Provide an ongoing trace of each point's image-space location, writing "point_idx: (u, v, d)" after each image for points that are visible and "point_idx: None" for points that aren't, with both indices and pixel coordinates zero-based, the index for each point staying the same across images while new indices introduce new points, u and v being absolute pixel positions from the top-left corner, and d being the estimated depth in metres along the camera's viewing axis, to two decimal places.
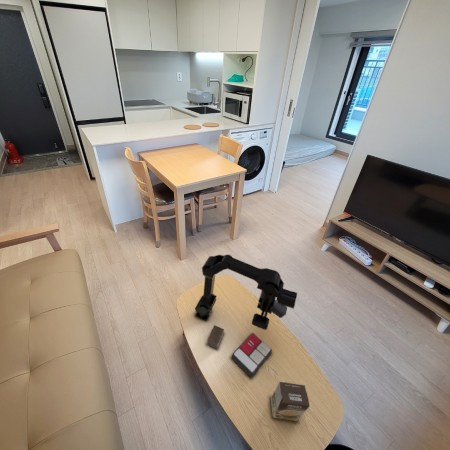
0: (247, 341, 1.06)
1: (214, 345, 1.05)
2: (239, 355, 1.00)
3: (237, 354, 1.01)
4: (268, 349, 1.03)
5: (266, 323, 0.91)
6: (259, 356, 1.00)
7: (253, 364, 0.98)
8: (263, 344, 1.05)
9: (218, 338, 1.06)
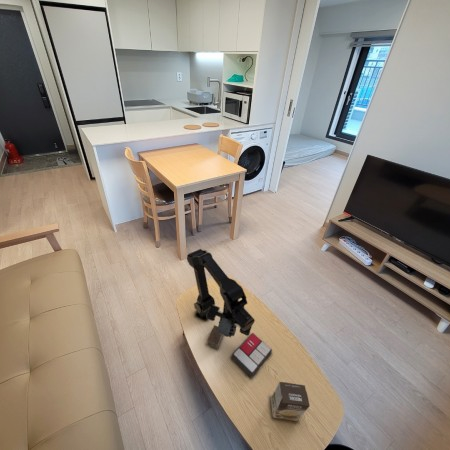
0: (247, 341, 1.06)
1: (214, 345, 1.05)
2: (239, 355, 1.00)
3: (237, 354, 1.01)
4: (268, 349, 1.03)
5: (209, 314, 0.96)
6: (259, 356, 1.00)
7: (253, 364, 0.98)
8: (263, 344, 1.05)
9: (218, 338, 1.06)
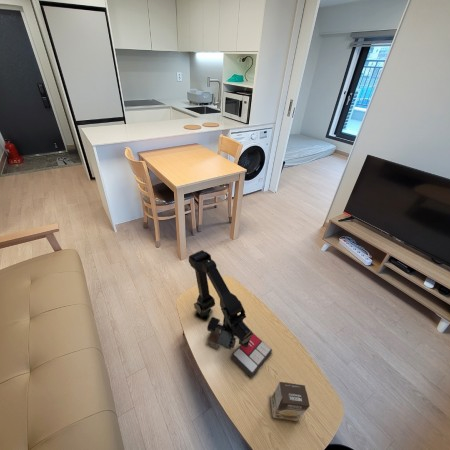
0: None
1: (214, 345, 1.05)
2: (239, 355, 1.00)
3: (237, 354, 1.01)
4: (268, 349, 1.03)
5: (210, 326, 1.01)
6: (259, 356, 1.00)
7: (253, 364, 0.98)
8: (263, 344, 1.05)
9: None
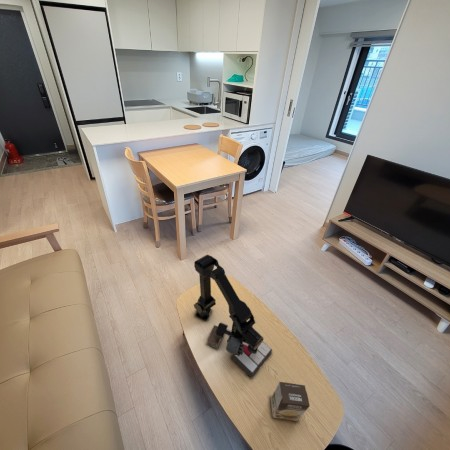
0: None
1: (214, 345, 1.05)
2: None
3: None
4: (268, 349, 1.03)
5: (218, 332, 1.01)
6: (259, 356, 1.00)
7: (253, 364, 0.98)
8: (263, 344, 1.05)
9: (218, 338, 1.06)
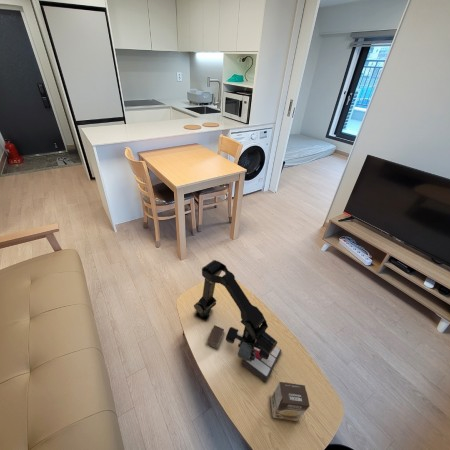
0: None
1: (214, 345, 1.05)
2: None
3: None
4: (278, 350, 1.03)
5: (229, 337, 0.99)
6: (270, 358, 1.00)
7: (266, 368, 0.97)
8: None
9: (218, 338, 1.06)
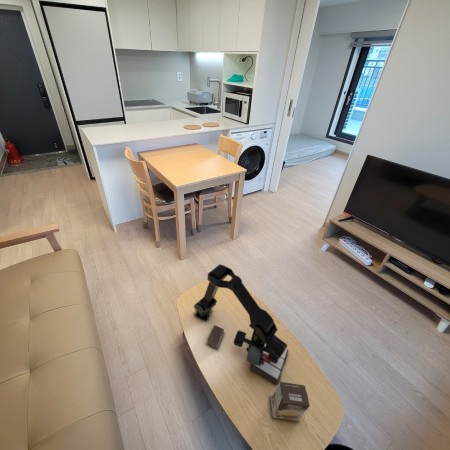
0: None
1: (214, 345, 1.05)
2: None
3: None
4: (285, 350, 1.03)
5: (237, 340, 0.98)
6: (279, 360, 0.99)
7: (276, 370, 0.96)
8: None
9: (218, 338, 1.06)
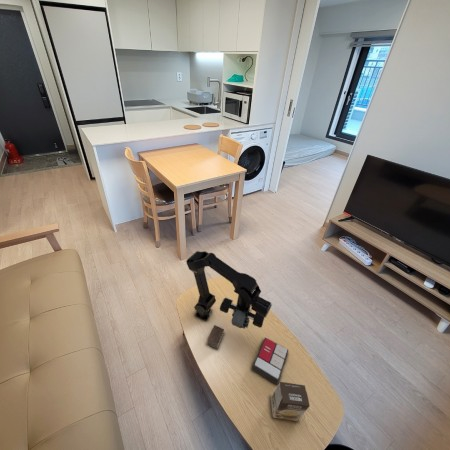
0: (263, 347, 1.03)
1: (214, 345, 1.05)
2: (260, 364, 0.97)
3: (258, 363, 0.98)
4: (285, 350, 1.03)
5: (223, 306, 1.00)
6: (279, 360, 0.99)
7: (276, 370, 0.96)
8: (279, 346, 1.04)
9: (218, 338, 1.06)
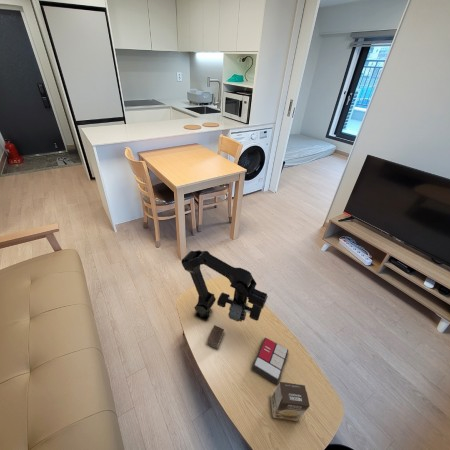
0: (263, 347, 1.03)
1: (214, 345, 1.05)
2: (260, 364, 0.97)
3: (258, 363, 0.98)
4: (285, 350, 1.03)
5: (220, 301, 1.02)
6: (279, 360, 0.99)
7: (276, 370, 0.96)
8: (279, 346, 1.04)
9: (218, 338, 1.06)
